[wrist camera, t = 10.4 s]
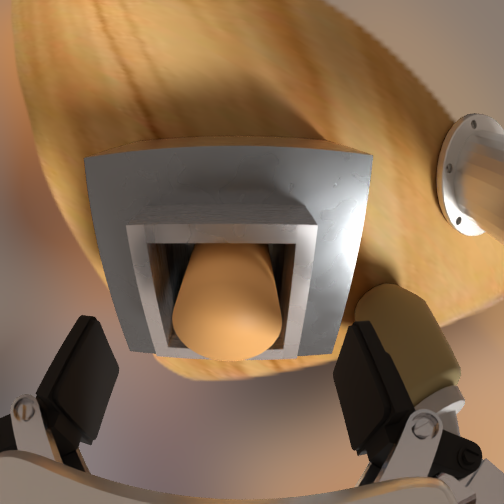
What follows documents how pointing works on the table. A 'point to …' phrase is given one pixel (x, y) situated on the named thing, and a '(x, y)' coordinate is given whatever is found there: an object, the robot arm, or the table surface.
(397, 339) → the squeeze bottle
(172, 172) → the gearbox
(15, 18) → the table surface
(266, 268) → the orange cylinder
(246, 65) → the table surface
